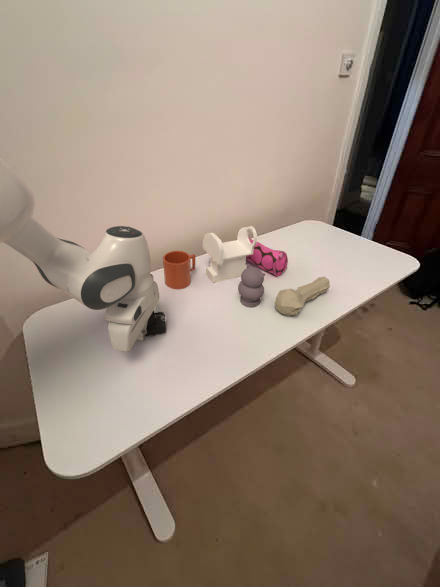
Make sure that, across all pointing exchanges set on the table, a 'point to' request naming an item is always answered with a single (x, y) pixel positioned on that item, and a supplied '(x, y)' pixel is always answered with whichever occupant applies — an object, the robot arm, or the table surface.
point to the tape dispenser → (228, 254)
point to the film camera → (156, 324)
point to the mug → (178, 269)
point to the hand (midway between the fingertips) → (141, 336)
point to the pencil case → (268, 259)
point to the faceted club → (300, 296)
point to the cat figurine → (251, 286)
